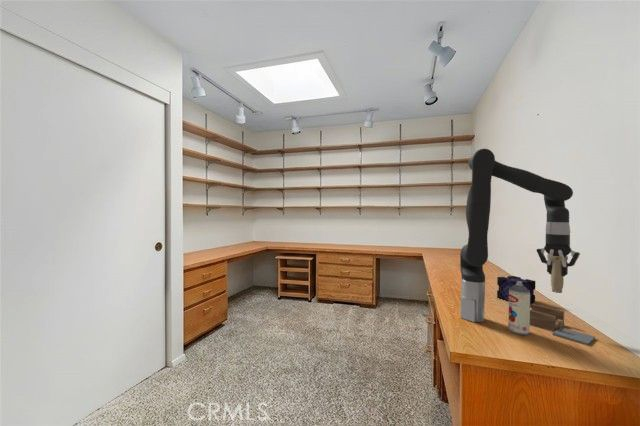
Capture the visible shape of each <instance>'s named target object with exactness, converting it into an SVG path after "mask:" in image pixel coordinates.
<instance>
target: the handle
mask: <svg viewBox="0 0 640 426" xmlns="http://www.w3.org/2000/svg"><path fill="white" fill-rule="evenodd" d="M546 259H547V260H548V259H550V260H552V269H551V274H550V286H551V292H553V293H556V294H562V293H563V288H564V281H565V280H564V277H565V276H562V267H563V265H562V262H561V260H562V257H560V256H549V255H548V254H547V255H546ZM564 259H565V260H567V261H568V260H569V256H568V255H567V256H566V257H564Z"/></svg>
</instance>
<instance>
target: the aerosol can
mask: <svg viewBox="0 0 640 426" xmlns="http://www.w3.org/2000/svg"><path fill="white" fill-rule="evenodd" d="M530 310H531V304H530V291H529V290H527V288H526V287H524V286H523V285H522V282H520V281H517V284H515V285H513V286H512V287H510V289H509V301H508V321H507V322H508V324H507V327H508V331H509V332H511V333H512V332H513V334H515V335H518V336H519V335H520V336H529V335H530V327H531V325H530Z"/></svg>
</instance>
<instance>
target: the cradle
mask: <svg viewBox="0 0 640 426" xmlns="http://www.w3.org/2000/svg"><path fill="white" fill-rule="evenodd" d="M530 326H533V327H535V328H540V329H543V330H547V331H551V332H552V333H553V332H555V331H556V330H557V329H559V328H560V327H563V326H565V311H564V310H561V309H556V308H552V307H548V306H543V305H540V304H536V303H535V304H531V309H530Z"/></svg>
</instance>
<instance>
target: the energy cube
mask: <svg viewBox="0 0 640 426" xmlns="http://www.w3.org/2000/svg"><path fill="white" fill-rule="evenodd" d="M517 281H520V282H522V285H523V286H524V287H526V288H527V290H529V291H530V305H532V304H533V303H535V304H536V295H535V294H534V293H535V290H536V280H533V279H528V278H525V279H523V278H521V277H519V276H514V275H507V276H506V277H505V276H497V281H496V283H497V286H498V290H496V291H497V292H496V299H498V298H499V299H498V300H501V299H502V300H501V301H504V300H506V301H507V302H509V289H510V287H512V286H513V285H515V284H517Z"/></svg>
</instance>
